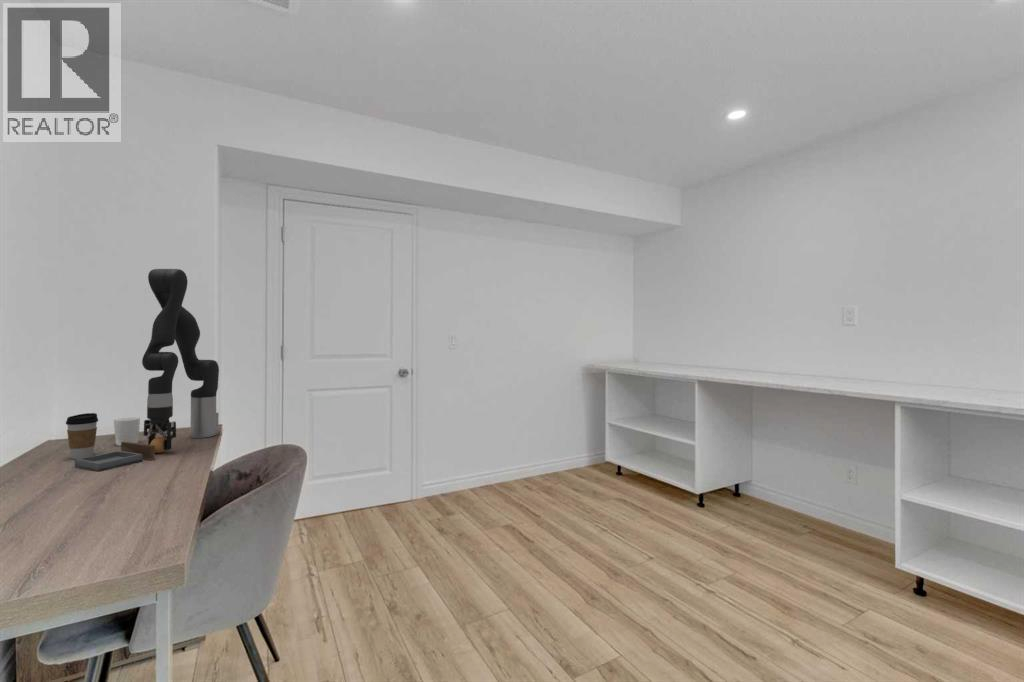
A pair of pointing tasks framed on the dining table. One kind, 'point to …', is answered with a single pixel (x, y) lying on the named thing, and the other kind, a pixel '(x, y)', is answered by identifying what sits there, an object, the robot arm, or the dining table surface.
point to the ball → (158, 444)
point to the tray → (108, 460)
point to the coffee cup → (82, 434)
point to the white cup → (127, 429)
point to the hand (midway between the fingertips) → (159, 448)
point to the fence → (139, 449)
